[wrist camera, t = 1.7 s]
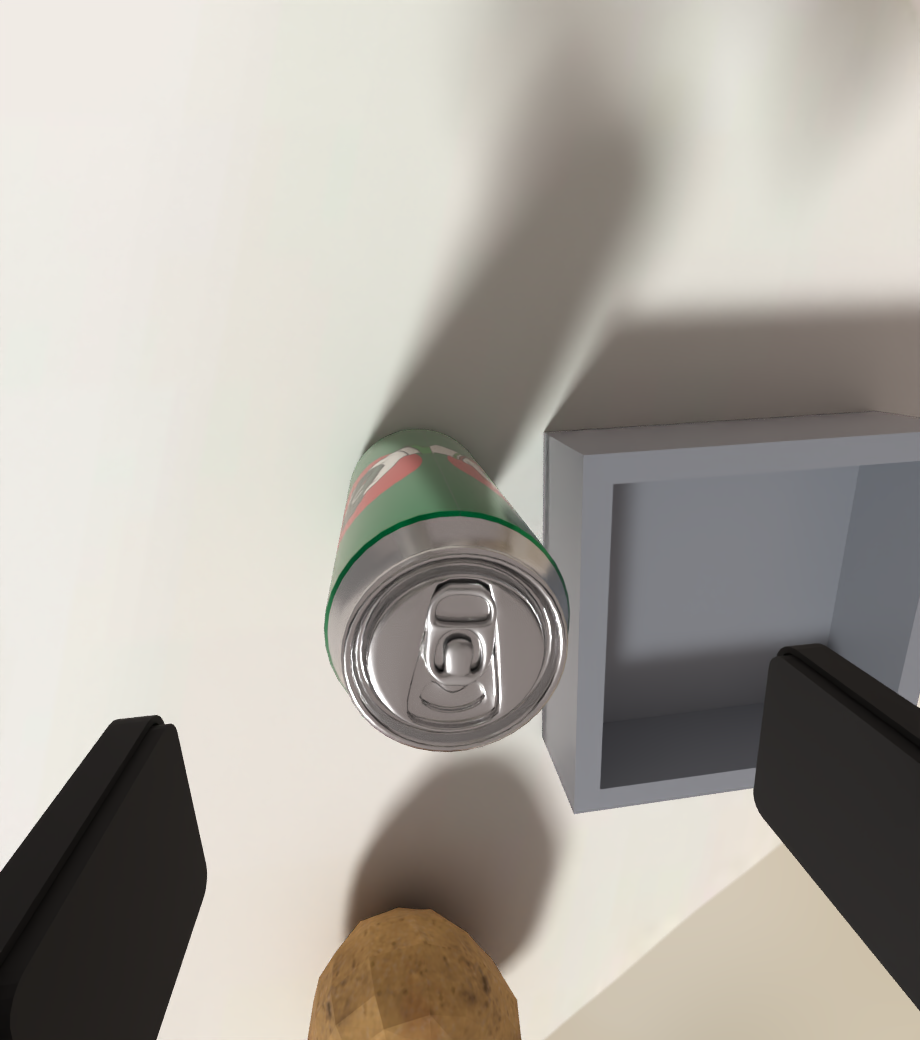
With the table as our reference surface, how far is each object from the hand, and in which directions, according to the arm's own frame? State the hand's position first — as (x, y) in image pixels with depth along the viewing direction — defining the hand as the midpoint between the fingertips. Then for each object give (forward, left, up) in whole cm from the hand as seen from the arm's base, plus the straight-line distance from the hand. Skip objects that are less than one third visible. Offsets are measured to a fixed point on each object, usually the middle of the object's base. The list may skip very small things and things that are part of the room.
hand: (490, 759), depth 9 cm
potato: (+23, -2, -14) cm, 27 cm away
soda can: (-1, 0, -14) cm, 14 cm away
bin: (+4, +12, -14) cm, 19 cm away
